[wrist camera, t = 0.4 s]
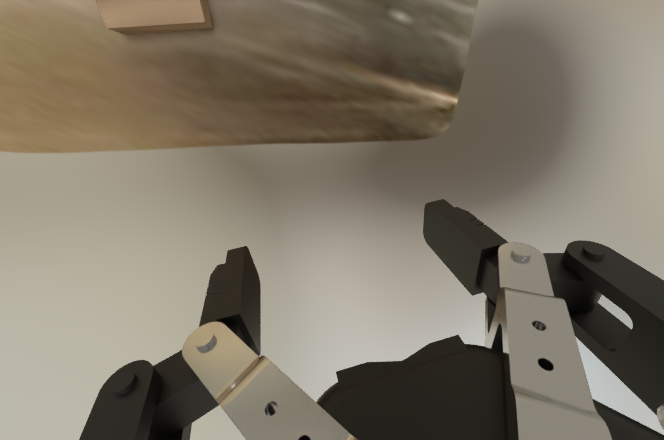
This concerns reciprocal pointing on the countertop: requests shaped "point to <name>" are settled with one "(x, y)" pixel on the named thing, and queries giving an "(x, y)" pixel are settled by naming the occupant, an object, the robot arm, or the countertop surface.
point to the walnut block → (155, 15)
